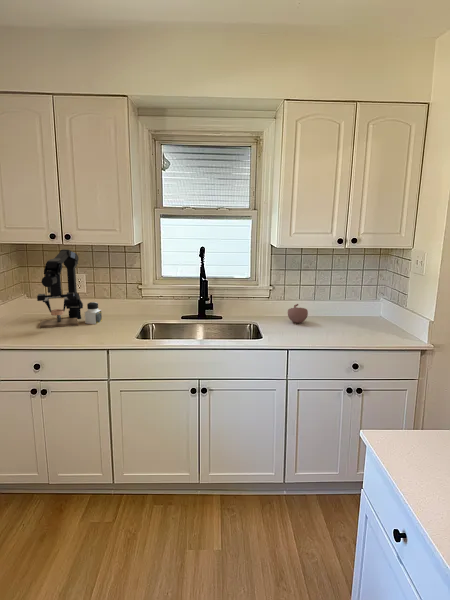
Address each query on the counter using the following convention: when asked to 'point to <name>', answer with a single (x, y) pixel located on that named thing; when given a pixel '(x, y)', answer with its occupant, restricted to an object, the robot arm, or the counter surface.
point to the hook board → (58, 322)
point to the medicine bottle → (93, 314)
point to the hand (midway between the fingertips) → (57, 311)
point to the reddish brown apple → (297, 314)
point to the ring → (57, 312)
